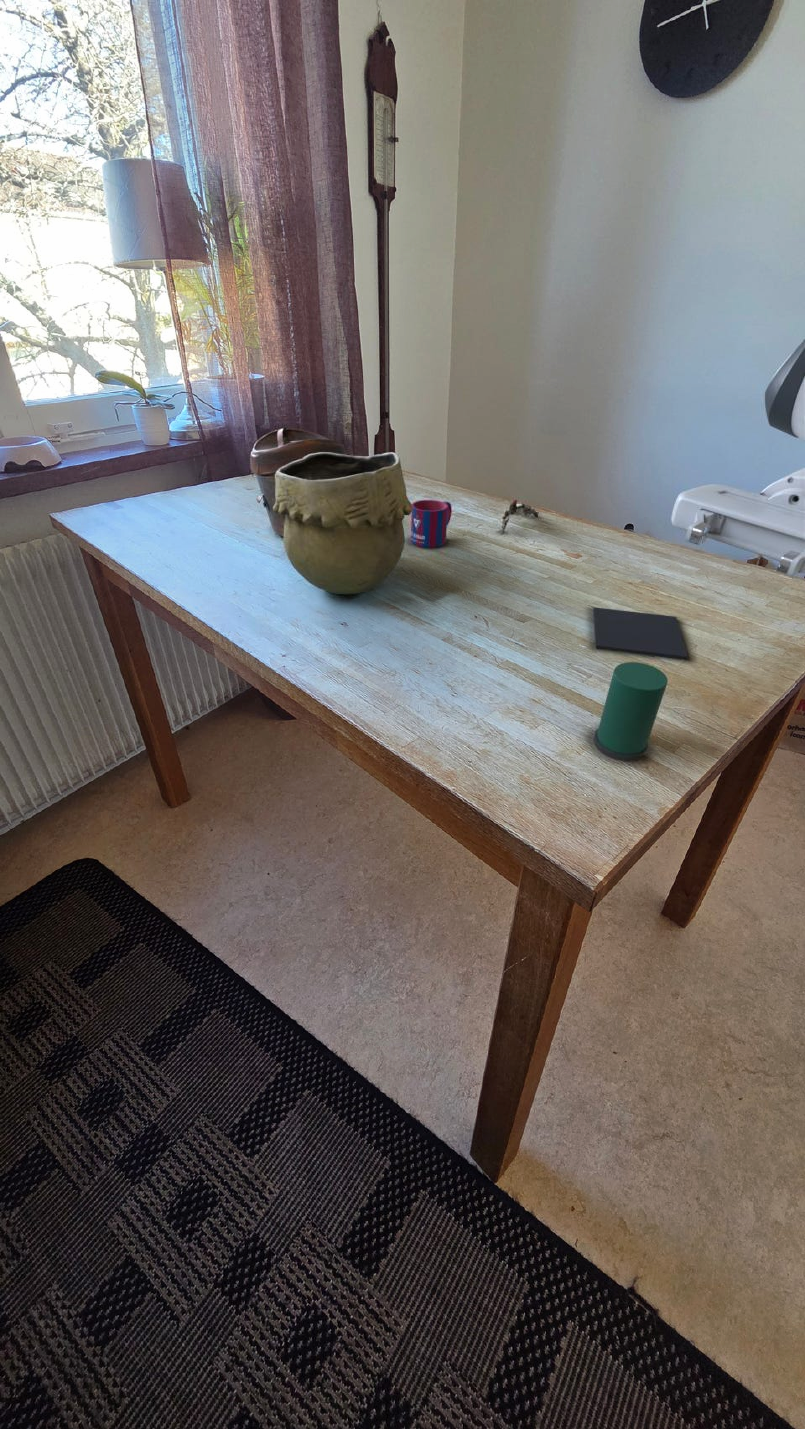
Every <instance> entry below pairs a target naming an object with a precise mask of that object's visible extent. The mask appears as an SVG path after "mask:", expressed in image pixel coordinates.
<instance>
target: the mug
mask: <svg viewBox="0 0 805 1429" xmlns="http://www.w3.org/2000/svg"><path fill="white" fill-rule="evenodd" d="M411 504H412V511H411V514H410V543H411V544H412V545H413V546H415V547H419V548H427V549H432V548H433V549H434V548H440V547H442V546H444V545H445V544H446V543H447V530H448V529H447V528H448V525H449V523H450V521H451V519H452V514H453V513H452V511H453V510H452V509H453V508H452V504H451V502H449V501H445V500H444V501H440V500H436V499H421V500H416V501H414V502H411Z"/></svg>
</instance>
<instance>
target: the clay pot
mask: <svg viewBox="0 0 805 1429" xmlns="http://www.w3.org/2000/svg"><path fill="white" fill-rule="evenodd" d="M275 482H276V486H275V493H276V503H275V505H274V507H273V511H274V513H278V512H279V513H280V515H282V516H284V515H285V522H284V536H283V547H284V550H285V553H286V556H287V558H288V560H289V562H290V564H291V566H292V567H293V569H295V570H296V572H297V573H298V574H299V575H300V576H302V578H304V580H306V582H308V583H309V584H311V585H312V586H314V587H316V588H318V589H320V590H322V591H325V592H328V593H331V594H334V595H335V594H336V595H357V594H362V593H364V592H367V591H371V590H372V589H374V588H376V587H378V586H379V585H381V584H382V583H383V582H384V581H385V580H386V579H387V578H388V577H389V576H390V575H391V574H392V572H393V571H394V570H395V568H397V565H398V564H399V562H400V559H401V557H402V554H403V551H404V548H405V545H406V544H405V543H406V538H405V537H406V536H405V528H404V523H403V521H404V519H405V516H411V511H412V502H411V501H410V499H409V498H408V496H407V495H408V494H407V487H406V484H405V479H404V475H403V469H402V464H401V458H400V457H399V456H398V454H397V453H396V452H384V453H381V454H374V455H368V456H365V455H364V456H363V455H348V454H347V455H343V454H336V453H331V452H319V453H314V454H309V455H307V456H305V457H304V458H303V459H300V460H296V461H293V462H291V463H289V464H287V465H285V466H283V467H281V468H279V469H278V470H277V472H276V474H275Z"/></svg>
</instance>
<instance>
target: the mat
mask: <svg viewBox="0 0 805 1429" xmlns="http://www.w3.org/2000/svg"><path fill="white" fill-rule="evenodd" d="M592 613H593V614H592V618H593V631H594V633H593V634H594V648H595V649H598V650H606V651H613V652H614V651H615V652H622V653H629V654H637V655H638V654H639V655H644V656H646V655H647V656H652V657H661V658H669V659H677V660H686V661H687V660H688V658H689V656H688V654H689V653H688V651H687V648H686V644H685V642H684V639H683V638H684V637H683V635H682V631H681V628H680V625H679V622H678V618H677V616H673V615H664V614H656V613H655V614H654V613H648V612H637V611H629V610H621V609H612V608H603V607H593V609H592Z"/></svg>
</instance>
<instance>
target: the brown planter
mask: <svg viewBox="0 0 805 1429" xmlns="http://www.w3.org/2000/svg"><path fill="white" fill-rule="evenodd" d="M319 452H331V453H336V454H343V455H348V453H347V449H346V448H345V446H344V444H343V443H341V442H339V441H336V440H333V439H330V438H328V437H326V436H323V435H321V434H319V433H315V432H312V431H309V430H305V429H301V428H292V427H291V428H290V427H288V428H287V427H285V426H284V427H283V428H279V429H276V430H273V431H271V432H268V433H267V434H265V435H263V436H261V437H260V438H259V439H258V440H257V441H256V442H255V443H254V445H253V448H252V450H251V452H250V457H249V458H250V460H249V469H250V470H251V476H252V477H254V475H255V476H256V480H257V484H258V486H259V490H260V493H261V494H260V495H259V496H258V497H257V498H256V502H257V503H258V504H260V503H261V501H262V505H263V507H264V508H265V509H266V514H267V516H268V519H269V523H270V526H271V528H272V530H273V532H274V533H276V534H277V535H279V536H282V537H284V522H285V515H284V516H282V515H280V513H279V512H278V513H274V511H273V507H274V505H275V503H276V493H275V486H276V482H275V474H276V472H277V470H278V469H279V468H281V467H283V466H285V465H287V464H289V463H291V462H293V461H296V460H300V459H303V458H304V457H305V456H307V455H309V454H314V453H319Z"/></svg>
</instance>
